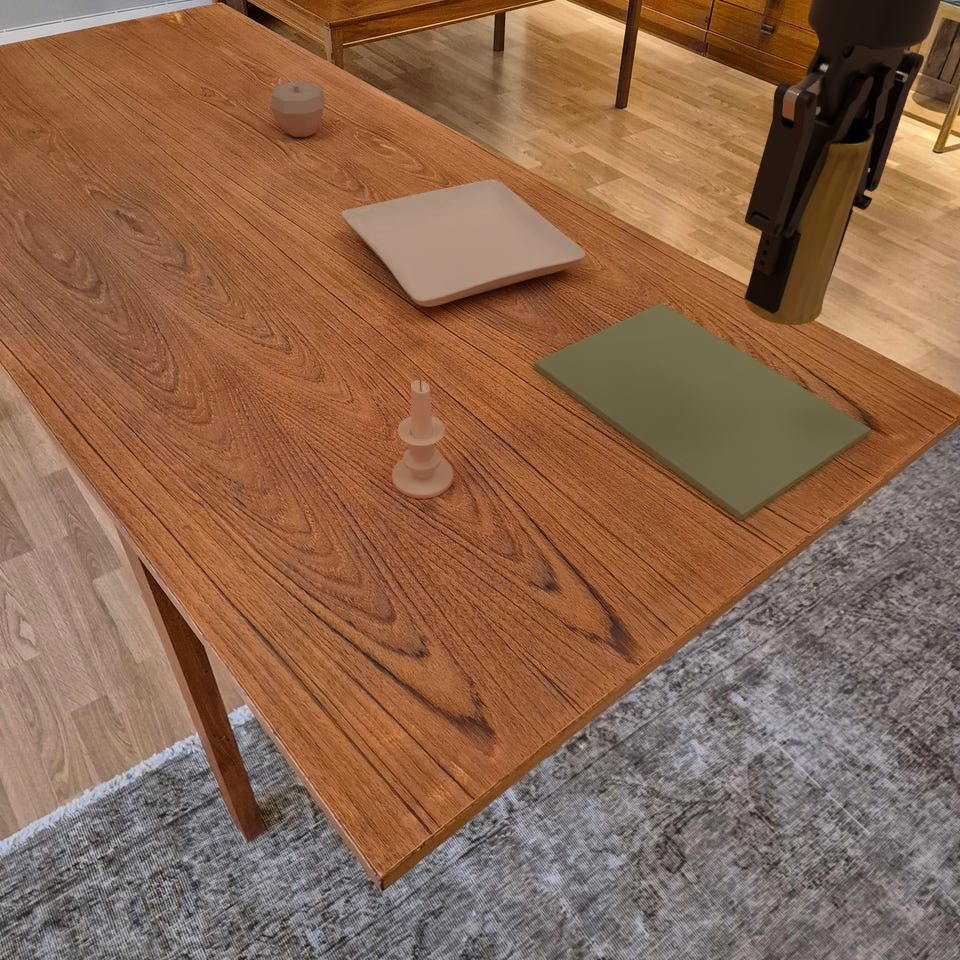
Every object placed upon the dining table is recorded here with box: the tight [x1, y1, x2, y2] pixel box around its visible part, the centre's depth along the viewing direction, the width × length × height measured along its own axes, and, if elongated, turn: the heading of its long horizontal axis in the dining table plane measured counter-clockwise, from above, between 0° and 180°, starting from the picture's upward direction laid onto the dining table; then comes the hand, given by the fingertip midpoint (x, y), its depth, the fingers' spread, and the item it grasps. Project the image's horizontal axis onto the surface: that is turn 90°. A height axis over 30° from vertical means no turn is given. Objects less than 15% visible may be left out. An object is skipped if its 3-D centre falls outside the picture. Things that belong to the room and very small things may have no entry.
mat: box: [533, 302, 872, 522], centre depth 84 cm, size 26×18×1 cm
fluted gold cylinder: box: [743, 117, 873, 326], centre depth 67 cm, size 6×6×14 cm
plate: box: [340, 178, 587, 308], centre depth 101 cm, size 21×21×3 cm
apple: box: [269, 81, 326, 138], centre depth 124 cm, size 8×8×7 cm
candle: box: [391, 379, 454, 500], centre depth 72 cm, size 5×5×10 cm
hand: (787, 291), depth 71 cm, fingers closed on fluted gold cylinder, 6 cm apart
